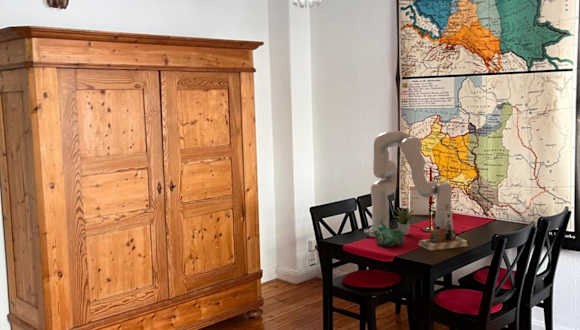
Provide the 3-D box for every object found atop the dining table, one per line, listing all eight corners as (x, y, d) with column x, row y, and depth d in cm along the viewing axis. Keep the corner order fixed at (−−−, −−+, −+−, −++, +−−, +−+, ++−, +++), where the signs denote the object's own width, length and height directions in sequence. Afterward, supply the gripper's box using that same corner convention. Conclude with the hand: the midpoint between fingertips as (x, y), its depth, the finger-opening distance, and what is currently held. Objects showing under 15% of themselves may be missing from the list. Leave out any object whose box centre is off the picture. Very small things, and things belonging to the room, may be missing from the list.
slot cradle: (430, 250, 307) (430, 245, 307) (418, 244, 319) (418, 239, 318) (468, 245, 315) (468, 241, 314) (454, 240, 326) (455, 235, 325)
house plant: (417, 237, 332) (417, 209, 330) (392, 237, 335) (392, 208, 333) (417, 231, 346) (417, 204, 344) (392, 230, 349) (393, 203, 347)
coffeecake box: (431, 212, 396) (431, 184, 393) (432, 215, 389) (433, 185, 386) (408, 212, 397) (408, 184, 394) (409, 215, 390) (409, 185, 387)
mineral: (365, 245, 320) (366, 226, 318) (381, 239, 332) (381, 221, 330) (395, 250, 308) (396, 232, 306) (411, 244, 320) (411, 226, 318)
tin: (431, 246, 313) (431, 230, 312) (428, 244, 316) (428, 229, 315) (456, 243, 318) (456, 227, 317) (452, 241, 321) (453, 226, 320)
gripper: (459, 209, 307) (458, 241, 309) (440, 202, 323) (440, 233, 325) (446, 210, 304) (446, 242, 307) (428, 204, 321) (428, 234, 323)
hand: (442, 238), depth 316 cm, fingers open, 9 cm apart
